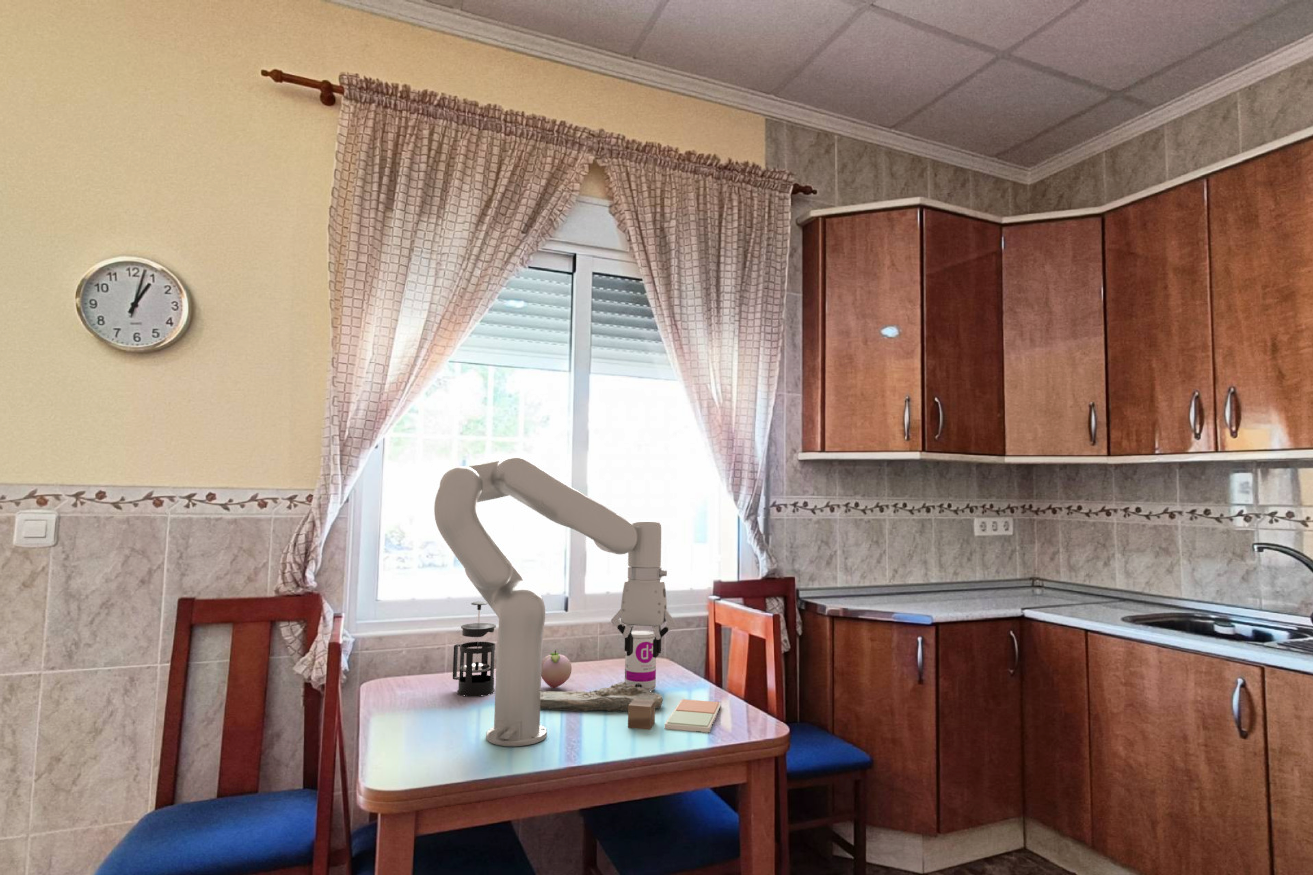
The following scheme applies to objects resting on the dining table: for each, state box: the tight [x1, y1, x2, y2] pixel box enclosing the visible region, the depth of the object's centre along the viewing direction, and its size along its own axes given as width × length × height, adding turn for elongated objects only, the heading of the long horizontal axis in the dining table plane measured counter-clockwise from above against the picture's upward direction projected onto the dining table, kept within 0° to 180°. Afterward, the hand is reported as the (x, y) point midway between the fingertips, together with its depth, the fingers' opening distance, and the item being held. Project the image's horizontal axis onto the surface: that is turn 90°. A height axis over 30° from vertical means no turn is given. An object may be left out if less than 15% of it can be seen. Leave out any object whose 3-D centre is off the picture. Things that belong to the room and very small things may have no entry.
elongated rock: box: [540, 681, 663, 712], centre depth 174 cm, size 35×5×10 cm
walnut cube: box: [627, 699, 656, 731], centre depth 160 cm, size 5×5×5 cm
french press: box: [452, 601, 497, 697], centre depth 186 cm, size 12×9×23 cm
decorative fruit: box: [541, 649, 573, 690], centre depth 190 cm, size 9×8×10 cm
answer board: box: [664, 698, 722, 733], centre depth 166 cm, size 20×10×1 cm, turn 167°
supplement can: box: [624, 629, 657, 692], centre depth 190 cm, size 8×8×15 cm
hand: (642, 654), depth 161 cm, fingers open, 5 cm apart
